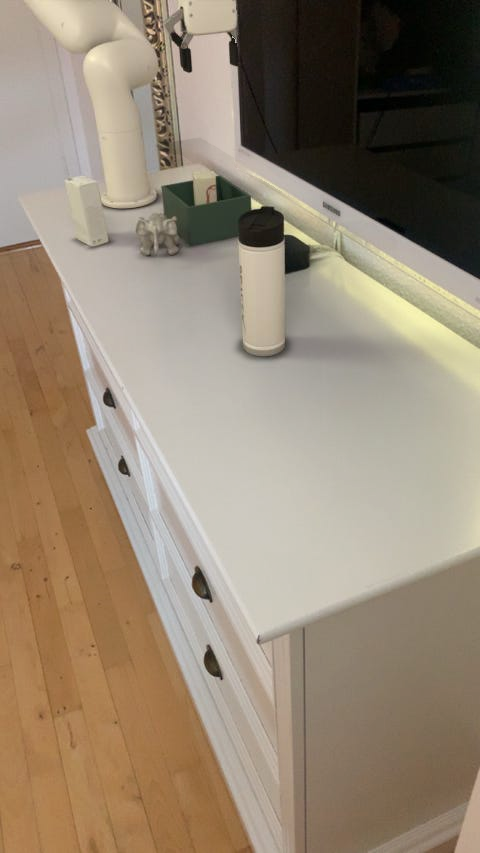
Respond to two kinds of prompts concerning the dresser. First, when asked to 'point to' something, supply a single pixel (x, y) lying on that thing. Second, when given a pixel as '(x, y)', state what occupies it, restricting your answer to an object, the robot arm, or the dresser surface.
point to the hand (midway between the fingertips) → (211, 68)
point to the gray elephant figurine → (158, 233)
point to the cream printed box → (204, 187)
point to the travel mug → (262, 280)
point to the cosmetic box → (87, 210)
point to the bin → (205, 211)
